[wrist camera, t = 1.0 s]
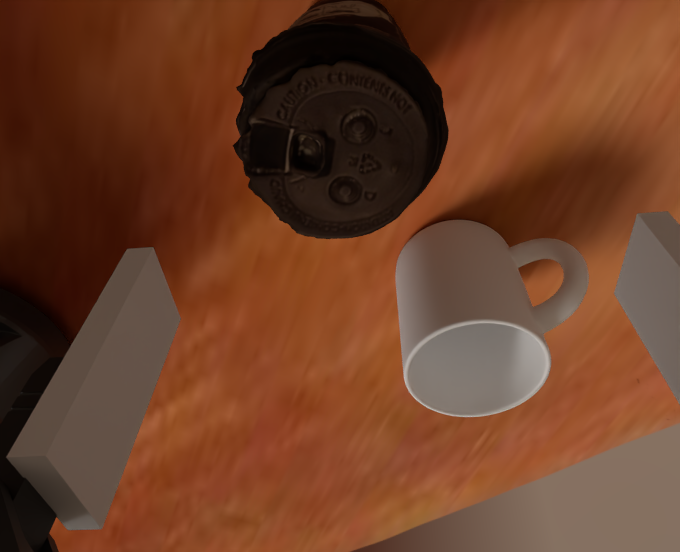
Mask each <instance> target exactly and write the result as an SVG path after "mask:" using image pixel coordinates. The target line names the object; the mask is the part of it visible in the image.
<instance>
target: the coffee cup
mask: <svg viewBox="0 0 680 552" xmlns="http://www.w3.org/2000/svg"><path fill="white" fill-rule="evenodd" d="M252 60H253V61H252V63H251V65H250V67H249V68H248V69H247V73H246V75H245V76H244V79H243V82H242V84H241V85H240V86H238V87H236V88H237V90H238V91H239V92H240V93H241V95H242V96H243V103H242V106H241V109H240V112H239V114H238V116H237V118H236V125H237V128H238V130H239V133H240V136H241V137H240V138H239V140H238V141H237V142H236V143H235V144H234V145H233V147H234V149H235V152H236V154H237V155H238V156H239V158H240V159H241V160H242V161H243V164H244V172H245V175H246V176H248V177H249V178H250V181H249V184H248V187H249V188H250V189H251V190H252V191H253V192H254V193H255V195H257V196H259V197H260V198H261V199H262V200H263V201H264V202H265V203H266V204H267V205H269V206H270V207H271V209H272V210H273V211H274V213H275V214H276V215H277V217H279V220H281V221H283V222H284V223H288V224H289V225H290V226H291V228H292V229H293V230H295V231H296V233H298V234H301V235H304V236H308V237H309V236H312V237H315V238H324V239H331V238H333V239H337V238H353V237H358V236H363V235H366V234H370V233H372V232H374V231H376V230H379V229H380V228H382V227H384V226H385V225H387V224H389V223H391V222H392V221H393V220H395V219H397V218H398V217H399V216H400V214H401V213H402V212H403V211H404V210H405V209H406V208H407V207H408V205H410V204H411V203H412V202H413V201H414V200H415V199H416V198H417V197H418V196H419V195H420V194H421V193H422V192H423V191H424V189H425V188H426V187H427V185H428V184H429V182H430V181H431V179H432V178H433V176H434V175H435V173H436V172H437V171H438V169H439V166H440V164H441V160H442V157H443V154H444V152H445V149H446V145H447V141H448V126H447V121H446V116H445V112H444V108H443V98H442V91H441V88H440V87H439V85H438V84H436V83H435V81H434V80H433V78H432V76H431V74H430V73H429V71H428V69H427V68H426V66H425V65H424V64H423V63H422V61H421V60H420V59H419V58H418V56H416V55H415V54H414V53H413V52H411V50H410V48H409V45H408V43H407V41H406V39H405V37H404V35H403V33H402V31H401V30H400V28H399V27H398V25H397V24H396V22H395V20H394V19H393V18H392V16H391V15H390V14H389V13H388V11H387V9H386V8H385V7H384V6H383V5H382V4H380V3H378V2H377V1H375V0H322V1H320V2H318V3H316V4H314V5H313V6H311V7H310V8H309V9H308V10H307V12H306V13H304V14H302V15H301V17H300V18H298V19H297V20H296V21H295V22H294V23H293V24H292V25H291V26H290V28H289V29H288V30H285V31H282V32H281V33H280V34H279V35H278V36H276V37H273V38H272V39H271V40H270V41H269V42H268V43H267V44H266V45H265V47H264V48H262V49H261V50H256V51H255V52H254V53H253V55H252Z"/></svg>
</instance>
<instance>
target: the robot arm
mask: <svg viewBox="0 0 680 552" xmlns="http://www.w3.org/2000/svg"><path fill="white" fill-rule="evenodd" d="M614 294H615V296H616V298H617V299H618V301H619V303H620V304H621V306H622V308H623V309H624V311H625V313H626V314H627V316H628V318H629V320H630V321H631V323H632V325H633V326H634V328H635V330H636V331H637V333H638V335H639V336H640V338H641V340H642V341H643V343H644V345H645V347H646V348H647V350H648V352H649V353H650V355H651V357H652V358H653V360H654V362H655V363H656V365H657V367H658V369H659V370H660V372H661V374H662V375H663V377H664V379H665V380H666V382H667V384H668V385H669V387H670V389H671V391H672V392H673V394H674V396H675V397H676V399H677V401H678V402H679V404H680V225H679V224H678V223H677V221H676V220H675V219H674V218H673V217H672V216H671V215H670V213H669V212H668V211H666V212H652V213H637V216H636V220H635V223H634V226H633V230H632V233H631V237H630V240H629V244H628V247H627V251H626V254H625V258H624V261H623V265H622V268H621V271H620V275H619V278H618V282H617V285H616V289H615V292H614ZM180 320H181V318H180V315H179V313H178V310H177V307H176V305H175V302H174V300H173V297H172V294H171V292H170V289H169V287H168V284H167V281H166V279H165V276H164V274H163V271H162V269H161V266H160V263H159V261H158V258H157V256H156V253H155V250H154V248H153V247H147V248H133V249H127V250H126V252H125V253H124V255H123V257H122V258H121V260H120V262H119V264H118V265H117V267H116V269H115V270H114V272H113V274H112V276H111V277H110V279H109V281H108V283H107V284H106V286H105V288H104V289H103V291H102V293H101V295H100V296H99V298H98V300H97V302H96V303H95V305H94V307H93V308H92V310H91V312H90V314H89V315H88V317H87V319H86V321H85V322H84V324H83V326H82V327H81V329H80V331H79V333H78V334H77V336H76V338H75V340H74V341H73V343H72V345H71V346H70V345H69V343H68V342H67V340H66V338H65V337H64V335H63V334H62V333H61V331H60V330H59V329H58V328H57V327H56V326H55V325H54V323H53V322H52V321H51V320H49V319H48V318H47V317H46V316H45V315H44V314H43V313H42V312H40V311H39V310H38V309H36V308H35V307H34V306H32V305H31V304H29V303H28V302H26V301H24V300H23V299H21V298H19V297H18V296H16V295H14V294H12V293H10V292H8V291H6V290H4V289H2V288H0V552H59V551H58V549H57V546H56V543H55V541H54V539H53V538H52V537H51V535H50V534H49V532H50V530H51V528H52V525H53V523H54V521H55V519H56V517H57V518H58V519H59V520H60V521H61V523H62V524H63V525H64V526H65V527H66V528H67V530H88V529H102V527H103V525H104V522H105V519H106V517H107V514H108V511H109V509H110V506H111V503H112V501H113V498H114V495H115V493H116V490H117V487H118V485H119V482H120V479H121V477H122V474H123V471H124V469H125V466H126V463H127V461H128V458H129V455H130V453H131V450H132V447H133V445H134V442H135V439H136V437H137V434H138V431H139V429H140V426H141V423H142V421H143V418H144V415H145V413H146V410H147V407H148V405H149V402H150V400H151V397H152V394H153V392H154V389H155V386H156V384H157V381H158V378H159V376H160V373H161V370H162V368H163V365H164V362H165V360H166V357H167V354H168V352H169V349H170V346H171V344H172V341H173V338H174V336H175V333H176V330H177V328H178V325H179V322H180Z"/></svg>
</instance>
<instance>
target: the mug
mask: <svg viewBox="0 0 680 552" xmlns="http://www.w3.org/2000/svg"><path fill="white" fill-rule="evenodd" d="M540 259H552V260H555V261H556V262H558V263H559V264H560V265H561V267H562V269H563V272H564V279H563V283H562V285H561V287H560V288H559V290H558V291H557V292H556V293H555V294H554V295H553V296H552V297H551V298H549V299H548V300H546V301H545V302H543V303H541V304H539V305H537V306H534V307H533V306H532V303H531V301H530V298H529V296H528V293H527V290H526V288H525V285H524V283H523V280H522V277H521V275H520V273H519V270H518V268H519V267H521V266H523V265H525V264H528V263H530V262H533V261H536V260H540ZM588 283H589V274H588V269H587V264H586V262H585V260H584V258H583V256H582V255H581V254H580V252H579V251H578V250H577V249H575V248H574V247H573V246H572V245H570V244H568V243H567V242H564V241H561V240H558V239H552V238H539V239H532V240H529V241H525V242H522V243H519V244H517V245H514V246H512V247H510V248H509V246H508V244H507V243H506V242H505V240H504V239H503V238H502V237H501V236H500V235H499V234H498V233H497V232H496V231H494V230H493V229H491V228H490V227H488V226H486V225H484V224H481V223H478V222H474V221H469V220H448V221H443V222H439V223H436V224H433V225H431V226H429V227H426V228H425V229H423V230H421V231H420V232H418V233H417V234H416V235H414V236H413V237H412V238H411V239H410V240H409V241H408V242H407V244H406V245H405V246H404V248H403V249H402V251H401V253H400V255H399V257H398V261H397V265H396V290H397V302H398V314H399V326H400V337H401V349H402V361H403V373H404V381H405V384H406V386H407V388H408V390H409V392H410V393H411V395H412V396H413V397H414V398H415V399H416V400H417V401H418V402H419V403H421V404H422V405H424V406H425V407H427V408H429V409H431V410H434V411H436V412H439V413H442V414H446V415H451V416H459V417H479V416H486V415H492V414H496V413H500V412H503V411H506V410H509V409H511V408H514V407H516V406H518V405H520V404H521V403H523V402H525V401H526V400H528V399H529V398H530V397H532V396H533V395H534V394H535V393H536V392H537V391H538V390H539V389H540V388H541V387H542V386H543V384H544V383H545V381H546V379H547V378H548V375H549V372H550V368H551V355H550V351H549V348H548V345H547V343H546V340H545V338H544V335H543V334H544V333H546V332H548V331H550V330H551V329H553V328H555V327H557V326H558V325H560V324H561V323H562V322H564V321H565V320H566V319H567V318H569V317H570V316H571V315H572V314H573V313H574V312H575V311H576V309H577V308H578V307H579V305H580V304H581V302H582V300H583V298H584V296H585V294H586V291H587V287H588Z"/></svg>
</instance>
